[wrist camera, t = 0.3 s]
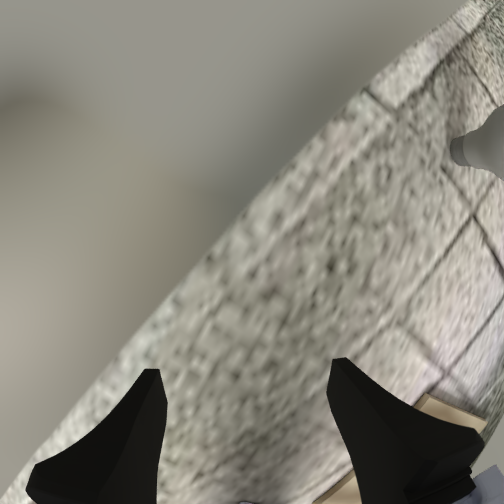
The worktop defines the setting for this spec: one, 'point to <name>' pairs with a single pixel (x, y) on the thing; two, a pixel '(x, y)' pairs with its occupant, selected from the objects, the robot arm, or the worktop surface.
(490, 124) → the lightbulb
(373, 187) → the worktop surface
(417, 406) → the dial board
